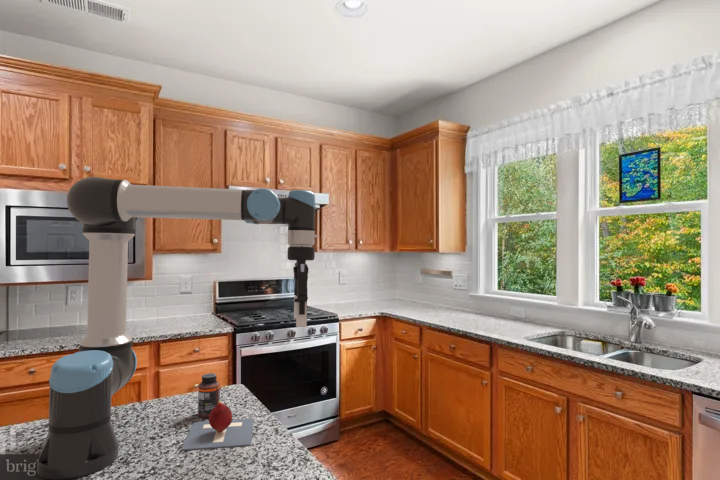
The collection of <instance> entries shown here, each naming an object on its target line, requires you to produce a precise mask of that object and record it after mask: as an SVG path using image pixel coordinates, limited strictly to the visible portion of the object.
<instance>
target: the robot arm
mask: <svg viewBox="0 0 720 480" xmlns="http://www.w3.org/2000/svg"><path fill="white" fill-rule="evenodd" d="M66 204H67V208H68V210H69V212H70V214H71V215H72V216H73V217H74V218H75V219H76V220H78V221H79V222H80V223H82V235H83V236H84V237H85V239H87V240H88V241H89V245H88V247H89V252H88V283H87V284H88V286H87V287H88V290H87V291H88V292H87V325H86V327H87V328H86V330H87V331H86V336H85V337H84V338H83V339H82V340H80V342H79V344H78V345H79V349H78V350H79V351H76V352H74V353H72V354H66V355H64V356H62V357H60V358H58V359H57V360H56V361H55V362H54V363H53V364H52V366H51V368H50V375H49V379H48V383H49V393H48V394H49V398H48V399H49V400H48V402H49V403H48V433H47V436H46V438H45V441H44V443H43V446H42V449H41V451H40V454H39V456H38V458H37V462H36V463H37V464H36V473H37V475H38V476H39V477H40V478H42V479H45V480H70V479H74V478H79V477H83V476H86V475H90V474H93V473H95V472H99V471H101V470H102V469H104V468H106V467H108V466H110V465H111V464H113V463H114V462H115V461H116V460H117V459H118V457H119V448H120V446H119V442H118V439H117V436H116V434H115V433H116V432H115V431H114V428H113V425H112V420H111V419H112V397H113V396H114V395H115V394H116V393H117V392H118V391H119V390H121V389H122V388H123V387H125V386H126V385H127V384H128V383H129V382H130V380H131V379H132V378H133V376H134V374H135V372H136V369H137V367H138V366H137V365H138V358H137V355H136V352H135V351H134V350H133V338H132V336H131V335H129V334H128V333H127V303H128V302H127V297H128V262H129V261H128V260H129V259H128V257H129V254H128V253H129V241H130V240H131V239H132V238H134V237H135V236H136V223H137V221H138V220H139V218H143V219H144V218H145V219H146V218H147V219H148V218H149V219H181V220H183V219H185V220H186V219H187V220H188V219H189V220H214V221H215V220H217V221H219V220H221V221H222V220H223V221H224V220H225V221H244V223H246V224H254V225H287V242H286V243H287V245H288V247H287V258H286V259H287V260H289V261H296V262H295V263H294V266H293V267H292V268H293V279H294V289H293V295H294V296H293V319H294V320H295V327H296V328H307V327H308V326H307V325H308V321H307V320H308V318H307V316H308V300H309V297H308V280H309V275H308V274H309V267H308V264H307V261H314V260H315V257H316V256H315V253H316V251H315V250H316V249H315V247H313V246H314V245H315V243H316V241H315V239H316V238H318V235H317V234H315V233H316V232H315V231H316V229H315V228H316V208H317V207H316V195H315V193H314V192H313V191H311V190H305V189H299V190H298V189H295V190H294V189H293V190H290V191H289V192H288V195H287V196H286V197H281V196H280V197H278V195H277V194H276V193H275V192H274V191H272V189H267V188H258V189H238V188H237V189H236V188H214V187H193V186H192V187H190V186H172V185H171V186H170V185H168V186H167V185H149V184H145V185H143V184H131V183H130V181H129V180H127V179H113V178H106V177H102V176H101V177H100V176H89V177H84V178H81V179H80V180H78V181H76V182H75V183H74V184H72V185H71V187H70V188H69V190H68V193H67V195H66Z"/></svg>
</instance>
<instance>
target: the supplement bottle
mask: <svg viewBox="0 0 720 480" xmlns="http://www.w3.org/2000/svg"><path fill="white" fill-rule="evenodd" d="M197 387H198V388H197V390H198V391H197V393H198V395H197V402H198V403H197V415H198V416H199V417H200V418H209V415H210V413H211V411H212V409H213V408H214V407H216V406H217V405H218V401H221V399H220V398H221V396H220V395H221V390H220V389H221V384H220V382H219V381H218V380H217V374H216V373H211V372H210V373H205V374H202V375H201V382H200V383H199V384H198V386H197Z"/></svg>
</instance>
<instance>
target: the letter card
mask: <svg viewBox="0 0 720 480" xmlns="http://www.w3.org/2000/svg"><path fill="white" fill-rule="evenodd" d="M254 423H255V419H254V418H243V419H242V418H240V419H238V418H237V419H232V422H231V424H230V425H229V426H228V427H227V428H226V429H225V430H224V431H222V432H218V431H216V430H215V429H213V428H212V427H211V425H210V424H209V420H207V421H194V422H193V423H192V425H191V428H190V430H189V432H188V434H187V437H186V438H185V440H184V443H183V445H182V447H181V451H193V450H207V449H208V450H209V449H219V448H222V449H223V448H234V447H236V448H237V447H246V446H249V447H251V446H252V439H253V429H254Z"/></svg>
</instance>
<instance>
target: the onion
mask: <svg viewBox="0 0 720 480" xmlns="http://www.w3.org/2000/svg"><path fill="white" fill-rule="evenodd" d="M232 420H233V413H232V410H231V408H229V407H228V406H227V405H226V404H224V403H223V402H222V401H221V400H220V401H218V405H217V406H216V407H214V408H213V409H212V411H211V413H210V415H209V417H208V421H209V424H210V425H211V427H212V428H213V429H215V430H216V431H218V432H222V431H224V430H225V429H226V428H227V427H228V426H229V425H230V424H231V422H232Z"/></svg>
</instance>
